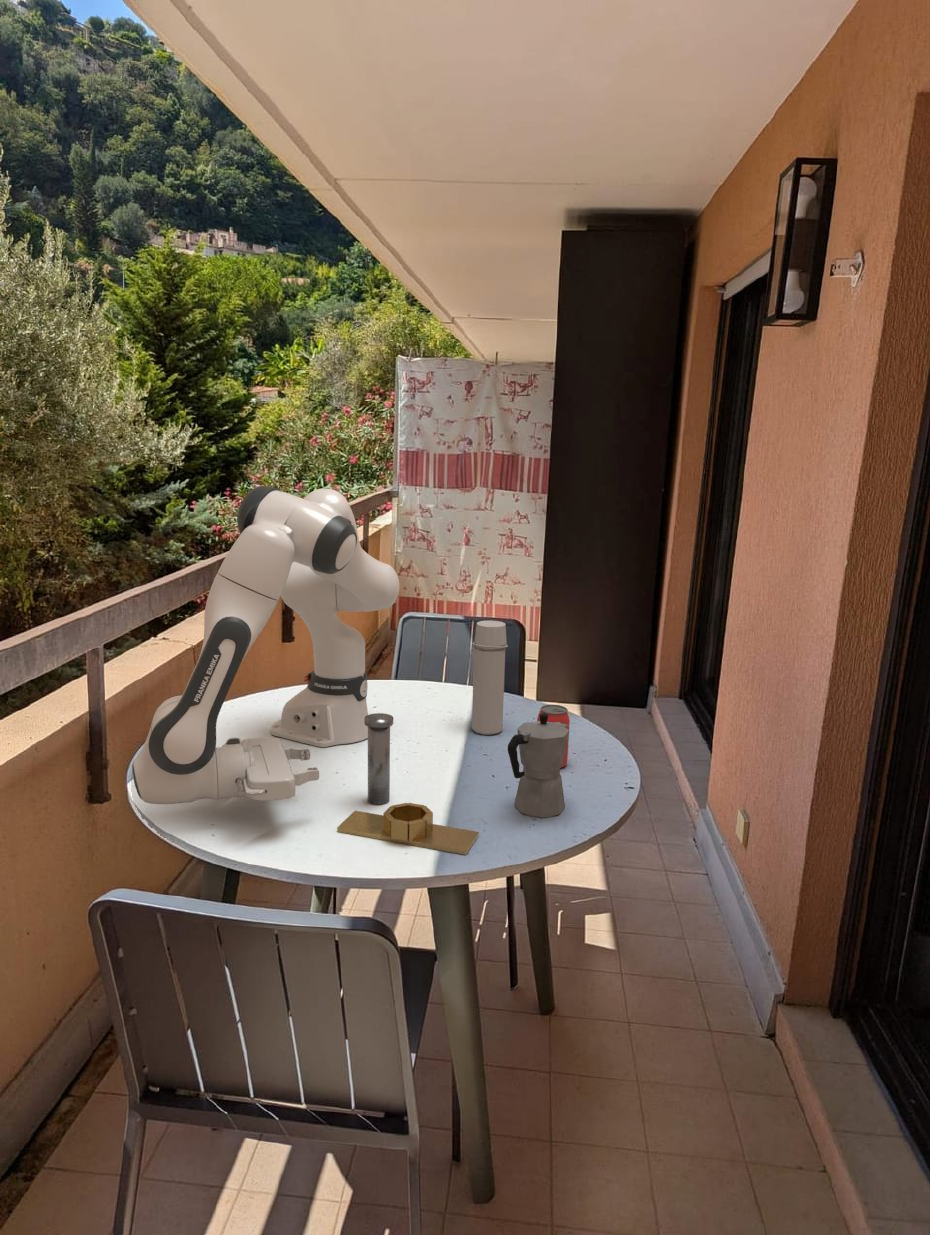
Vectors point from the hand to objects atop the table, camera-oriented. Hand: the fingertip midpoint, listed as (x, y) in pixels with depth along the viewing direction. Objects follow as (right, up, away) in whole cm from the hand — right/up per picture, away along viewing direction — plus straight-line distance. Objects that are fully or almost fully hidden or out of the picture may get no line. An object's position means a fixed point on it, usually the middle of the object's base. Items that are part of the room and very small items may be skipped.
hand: (314, 763), depth 154 cm
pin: (+11, -8, +6) cm, 15 cm away
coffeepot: (+40, -9, +4) cm, 41 cm away
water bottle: (+32, 0, +44) cm, 55 cm away
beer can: (+45, -5, +25) cm, 51 cm away
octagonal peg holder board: (+17, -11, -7) cm, 21 cm away
